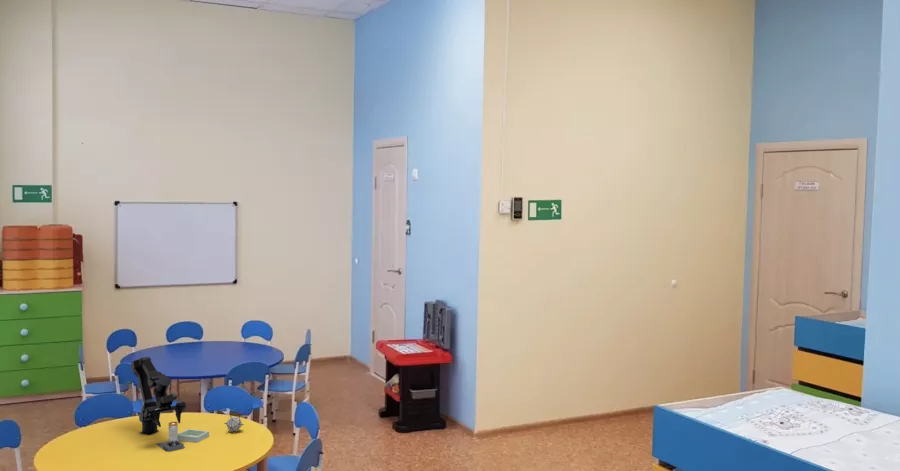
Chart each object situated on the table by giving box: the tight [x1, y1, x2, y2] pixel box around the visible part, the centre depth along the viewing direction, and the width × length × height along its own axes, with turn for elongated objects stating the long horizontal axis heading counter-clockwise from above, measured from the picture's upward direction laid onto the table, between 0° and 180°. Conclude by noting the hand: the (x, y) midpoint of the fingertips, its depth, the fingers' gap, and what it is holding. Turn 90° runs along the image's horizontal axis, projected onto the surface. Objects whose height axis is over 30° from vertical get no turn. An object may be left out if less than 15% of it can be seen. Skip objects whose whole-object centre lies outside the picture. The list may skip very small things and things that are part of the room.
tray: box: [178, 428, 210, 443], centre depth 373 cm, size 12×10×4 cm
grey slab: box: [155, 440, 186, 452], centre depth 362 cm, size 15×9×3 cm, turn 40°
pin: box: [168, 421, 179, 446], centre depth 358 cm, size 4×4×12 cm
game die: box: [224, 415, 245, 433], centre depth 387 cm, size 9×8×10 cm
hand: (170, 424), depth 361 cm, fingers open, 9 cm apart
